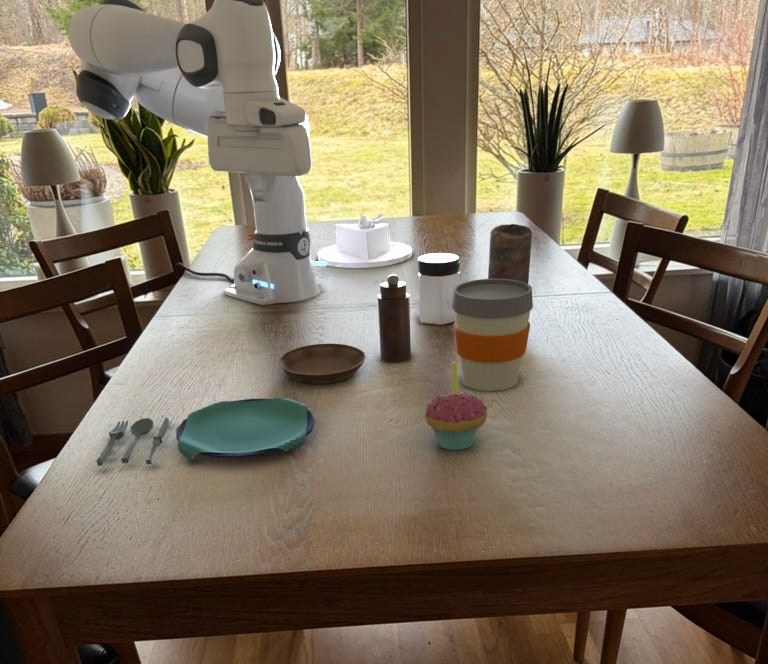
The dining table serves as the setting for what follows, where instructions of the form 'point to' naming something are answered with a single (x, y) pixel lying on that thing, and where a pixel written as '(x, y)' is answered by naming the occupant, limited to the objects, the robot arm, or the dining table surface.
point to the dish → (364, 246)
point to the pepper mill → (394, 321)
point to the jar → (437, 287)
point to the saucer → (322, 362)
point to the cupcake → (455, 416)
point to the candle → (510, 252)
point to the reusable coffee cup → (491, 331)
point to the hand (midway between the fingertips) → (262, 201)
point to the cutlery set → (228, 430)
